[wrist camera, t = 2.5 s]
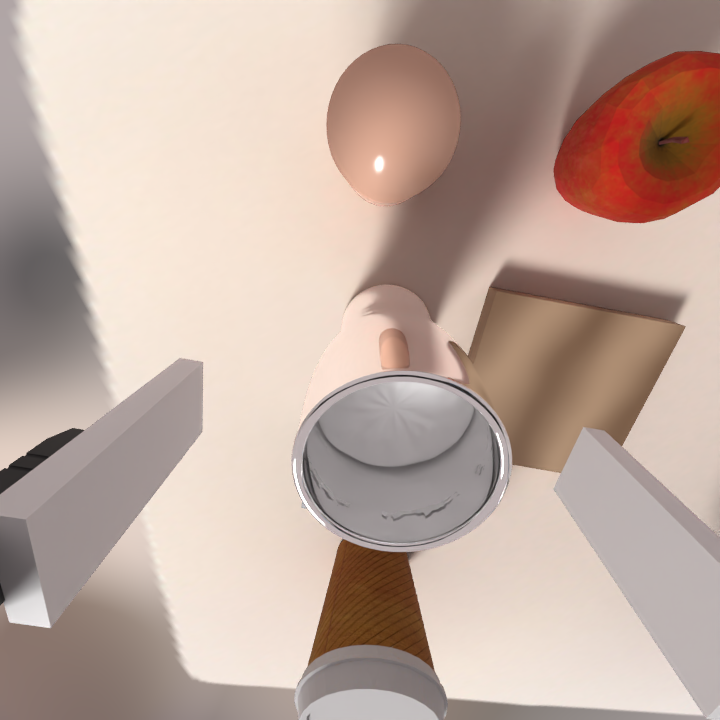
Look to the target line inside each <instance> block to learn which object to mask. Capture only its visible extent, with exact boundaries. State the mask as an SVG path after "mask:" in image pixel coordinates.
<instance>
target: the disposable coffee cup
mask: <svg viewBox="0 0 720 720" xmlns="http://www.w3.org/2000/svg"><path fill="white" fill-rule="evenodd" d="M417 600H418V599H417V594H416V590H415V587H414V582H413V579H412V574H411V569H410V565H409V561H408V557H407V552H387V551H379V550H374V549H369V548H366V547H362V546H359V545H356V544H354V543H351V542H349V541H347V540H343V541H342V542H341V543H340V545H339V547H338V550H337V554H336V559H335V563H334V566H333V570H332V574H331V578H330V582H329V586H328V589H327V593H326V597H325V601H324V605H323V609H322V613H321V617H320V621H319V625H318V628H317V632H316V636H315V640H314V644H313V648H312V652H311V656H310V659H309V663H308V667H307V668H306V670H305V672H304V673H303V676H302V678H301V680H300V681H299V682H298V685H297V688H296V691H295V706H296V709H297V711H298V720H444V718H445V716H446V713H447V707H448V703H447V698H446V694H445V691H444V688H443V686H442V685H441V684H440V681H439V678H438V677H437V675H436V673H435V671H434V666H433V662H432V658H431V654H430V650H429V646H428V641H427V637H426V633H425V629H424V624H423V620H422V616H421V612H420V608H419V603H418V601H417Z"/></svg>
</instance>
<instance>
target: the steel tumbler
mask: <svg viewBox="0 0 720 720" xmlns="http://www.w3.org/2000/svg"><path fill="white" fill-rule="evenodd" d="M291 466H292V475H293V480H294V484H295V487H296V489H297V492H298V494H299V496H300V498H301V500H302V502H303V503H304V505H305V507H306V508H307V509H308V511H309V512H310V513H311V514H312V515H313V517H314V518H315V519H316V520H317V521H318V522H319V523H320V524H322V525H323V526H324V527H325V528H327V529H328V530H329V531H331V532H332V533H334V534H335V535H337V536H339V537H341V538H342V539H344V540H347V541H349V542H351V543H354V544H356V545H359V546H362V547H366V548H369V549H374V550H379V551H387V552H414V551H422V550H427V549H432V548H436V547H439V546H442V545H445V544H448V543H450V542H453V541H455V540H457V539H459V538H461V537H463V536H465V535H466V534H468V533H470V532H471V531H472V530H474V529H475V528H477V527H478V526H479V525H480V524H482V523H483V522H484V521H485V520H486V519H487V518H488V517H489V516H490V515H491V514H492V512H493V511H494V510H495V509H496V507H497V506H498V504H499V503H500V501H501V499H502V498H503V496H504V494H505V491H506V489H507V487H508V484H509V480H510V476H511V471H512V450H511V444H510V440H509V437H508V434H507V431H506V429H505V427H504V425H503V423H502V421H501V419H500V418H499V416H498V415H497V413H496V411H495V408H494V406H493V403H492V401H491V399H490V397H489V394H488V392H487V390H486V388H485V386H484V384H483V381H482V379H481V378H480V376H479V374H478V372H477V371H476V369H475V367H474V365H473V364H472V362H471V360H470V359H469V357H468V356H467V355H466V353H465V352H464V351H463V350H462V348H461V347H460V346H459V344H458V343H457V342H456V341H455V340H454V339H453V338H452V337H451V336H450V335H449V334H448V333H447V332H446V331H444V330H443V329H442V328H441V327H439V326H438V325H437V324H435V323H434V322H432V321H431V318H430V315H429V312H428V310H427V308H426V306H425V304H424V303H423V301H422V300H421V299H420V298H419V297H418V296H417V295H416V294H414V293H413V292H411V291H410V290H408V289H406V288H403V287H400V286H396V285H389V284H384V285H377V286H373V287H370V288H368V289H366V290H364V291H362V292H361V293H359V294H358V295H357V296H356V297H355V298H354V299H353V300H352V301H351V302H350V303H349V305H348V306H347V308H346V310H345V312H344V315H343V318H342V324H341V331H340V332H339V333H338V334H337V335H336V336H335V337H334V339H333V340H332V341H331V342H330V343H329V345H328V346H327V347H326V349H325V350H324V352H323V354H322V356H321V357H320V360H319V362H318V364H317V366H316V368H315V370H314V372H313V374H312V377H311V380H310V383H309V386H308V389H307V393H306V396H305V400H304V404H303V409H302V413H301V418H300V423H299V428H298V432H297V434H296V437H295V440H294V444H293V449H292V458H291Z"/></svg>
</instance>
